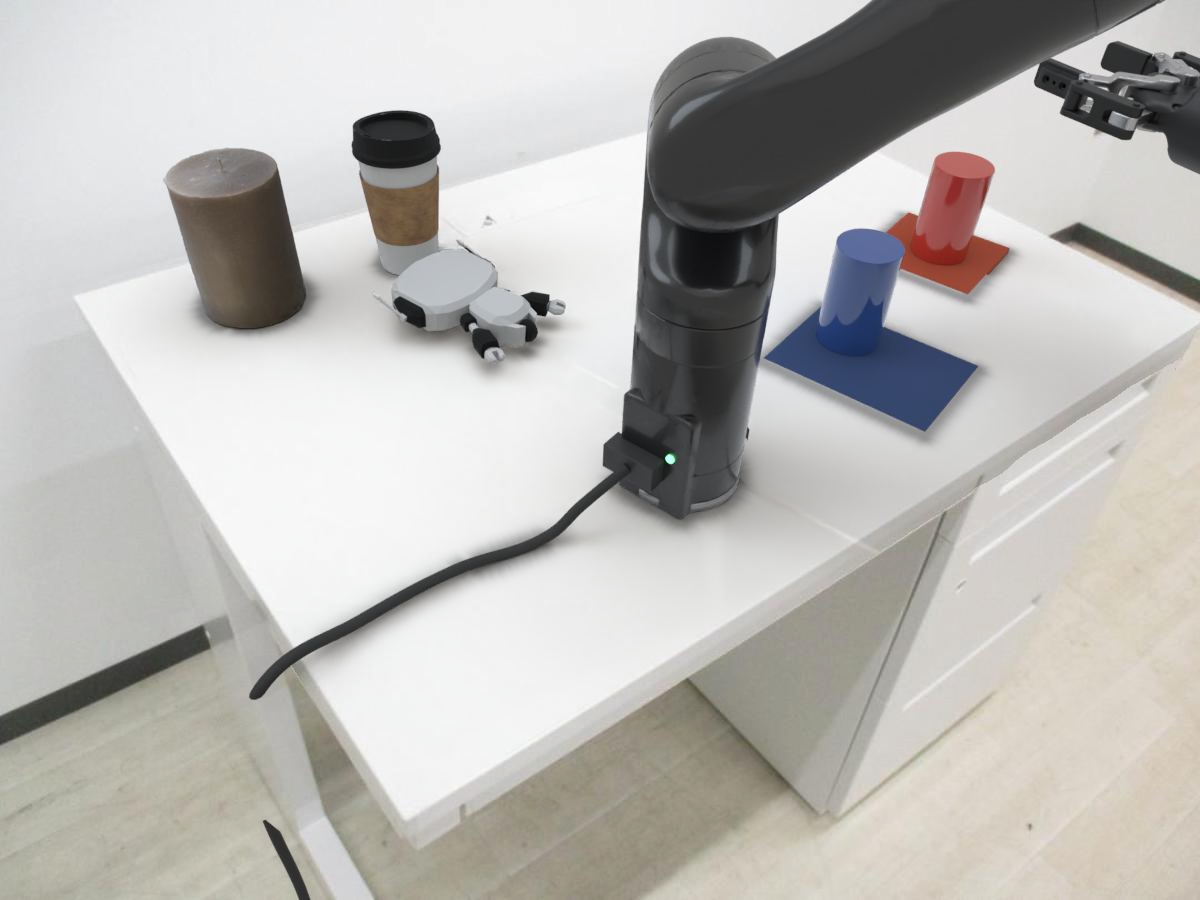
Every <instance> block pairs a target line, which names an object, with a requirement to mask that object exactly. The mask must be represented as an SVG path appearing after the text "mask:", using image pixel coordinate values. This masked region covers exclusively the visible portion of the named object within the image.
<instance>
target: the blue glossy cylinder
mask: <svg viewBox="0 0 1200 900" xmlns="http://www.w3.org/2000/svg"><path fill="white" fill-rule="evenodd" d="M832 253H833V254H832V258H831V262H830V267H829V271H828V276H827V280H826V285H825V287H824V288H825V289H824V293H823V298H822V302H821V306H820V307H821V311H820V315H819V319H818V324H817V328H816V337H817V340H818V341H819V342H820V344H821V345H822V346H824V347H825V348H827V349H828V350H830V351H832V352H835V353H838V354H841V355H846V356H863V355H867V354H870V353H872V352H873V351H875V350H876V349H877V347H878V345H879V342H880V339H881V335H882V331H883V328H884V327H885V324H886V321H887V317H888V313H889V310H890V307H891V303H892V299H893V297H894V292H895V289H896V286H897V281H898V279H899V275H900V272H901V269H900V268H901V265H902V261H903V258H904V254H905V248H904V245H903V244H902V243H901V242H900V241H899V240H898V239H897V238H895V237H894V236H892V235H890V234H888V233H886V232H885V231H882V230H878V229H872V228H852V229H848V230H845V231H843V232H842V233H840V234H839V235H838V236H837V238H836V240H835V245H834V249H833V252H832Z"/></svg>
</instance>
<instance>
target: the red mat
mask: <svg viewBox="0 0 1200 900" xmlns="http://www.w3.org/2000/svg"><path fill="white" fill-rule="evenodd" d="M917 219H918V215H917V214H914V213H911V212H907V213H906V214H905V215H904V216H903V217H902V218H900V219H899V220H898V221H897V222H895V224H894V225H893V226H891V227H890V228H889V229H888V230H886V232H885V233H888V234H890V235H892V236H894V237H895V238H897V239H898V240H899V241H900V242H901V243H902V244H903V245H904V248H905V254H904V258H903V261H902V265H901V268H900V270H902V271H905V272H908V273H910V274H912V275H916V276H918V277H920V278H924V279H927V280H929V281H932V282H934V283H936V284H939V285H942V286H944V287H947V288H950V289H952V290H956V291H957V292H960V293H963V294H965V295H969V294H970V293H971V292H972V291H973V289H974V288H976V286H977V285H978V284H979V283H980V281H981V280H982V279H983V278H984V277H985V276H986V275H987V276H988V275H989V274H990V273H991V272H992V271H993V270H994V269H995V268H996V267H997V266H998V265H999V264H1000V262H1001V261H1002V260H1003V259H1004V258H1005V257H1006V256H1007V255H1008V253H1010V250H1011V248H1010V247H1008V246H1005V245H1002V244H1000V243H996V242H994V241H991V240H989V239H985V238H983V237H979V236H977V235H975V234H974V235H973V238H972V241H971V244H970V247H969V250H968V253H967V256H966V258H965V260H964V261H962V262H961V263H958V264H955V265H937V264H933V263H929V262H926V261H924V260H922V259H920V258H918V257H917V256H915V255H914V254H913V253H912V251H911V249H910V243H911V240H912V236H913V233H914V229H915V226H916V222H917Z"/></svg>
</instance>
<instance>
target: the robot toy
mask: <svg viewBox="0 0 1200 900" xmlns="http://www.w3.org/2000/svg"><path fill="white" fill-rule="evenodd" d="M455 240H456V243H457V245H459V246H460V248H452V249H450V248H449V249H448V248H447V249H444V250H441V251H438V252H437V253H434V254H431V255H429V256H427V257H425V258H423V259H421V260H418V261H416V262H415V263H413V264H412V265H410V266H409V267H408V268H407V269H406V270H405V271H403V272H402V273H401V274H400V275H397V277H396V278H395V280H394V281H393V282H392V285H391V291H390V292H391V302H392V303H391V304H392V305H391V304H390V303H388V302H387V301H386V300H384V299H383V297H381V295H380V294H378V293H377V292H371V294H372V297H373V298H374V299H375V300H376V301H379V302H380V303H381V304H383V305H384V306H385V307H386V308H387V309H388V310H390V311H391V312H392V313H393V314H394V315H395V316H397V317H398V319H399V320H400V322H402V323H408V324H410V325H412V326H414V327H416V328H417V329H422V330H424V331H427V332H442V331H443V332H445V331H448V330H450V329H454V328H456V327H458V326H461V328H462V329H463V330H464V332H466V333H471V343H472V345H473V346H472V347H473V349H474V350H475V351H476V352H477V354H478V355H479V356H480V358H481V359H483V360H485V361H486V362H487V363H489V364H490V365H494V364H497V363H498V362H499V363H501V362H503V361H504V360H505V358H506V355H505V352H504V350H503V349H502V348H501V347H505V346H506V347H510V348H514V349H518V348H522V347H525V346H526V343H530V342H534V340H536V339H537V337H538V334H539V330H538V329H539V328H538V327H537V322H538V321H537V320H538V316H539V317H544V318H545V317H546V318H547V315H548V313H550V314H552V315H553V316H561V315H563V314H565V310H566V308H567V307H566V306H567V304H566V302H565V301H564V300H561V299H559V298H558V299H552V300H550V297H551V296H550V294H549V293H543V292H538V291H529V292H526V293H523V294H521V295H519V294H517V293H515V292H512V291H511V290H509V289H505V288H500V287H498V285H499V283H498V282H499V281H498V280H499V272H498V270H497V269H496V266H495V264H493V262H492V261H490V260H488V259H487V258H486V257H482V256H481V255H479V254H478V253H477V252H476V251H475V250H473V249H471V248H470V247H469V246H468V245H467V244H465V243H464V241H463V240H461V239H455ZM461 247H462V248H461ZM497 361H498V362H497Z"/></svg>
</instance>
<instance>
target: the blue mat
mask: <svg viewBox="0 0 1200 900" xmlns="http://www.w3.org/2000/svg"><path fill="white" fill-rule="evenodd" d="M820 311H821V306H819V308H817V309H816V310H815V311H814V312H813V313H812V314H811V315H809V316H808V317H807V318H806V319H805V320H804V321H803V322H801V324H800V325H799V326H797V327H796V328H795V329H794V330H793V331H792V332H791V333H789V335H787V336H786V337H785V338H784V339H783V340H782V341H781V342H779V343H778V344H777V345H776V346H775V347H774V348H773V349H772V350H771V351H770V352H768V353H767V354H766V355H765V356H764V357H763V359H764V360H767V361H769V362H771V363H774V364H775V365H777V366H780V367H782V368H784V369H787V370H789V371H791V372H793V373H795V374H797V375H799V376H802V377H803V378H806V379H809V380H811V381H813V382H815V383H817V384H820V385H821V386H824V387H826V388H828V389H830V390H832V391H835V392H837V393H839V394H841V395H843V396H846V397H848V398H850V399H852V400H854V401H856V402H859V403H861V404H864V406H865V405H866V406H868V407H869V408H872V409H873V410H876V411H878V412H880V413H882V414H885V415H887V416H889V417H892V418H894V419H895V420H898V421H901V422H902V423H905V424H907V425H909V426H911V427H913V428H915V429H918V430H920V431H922V432H924V433H925V432H926V431H927V430H928V429H929V428H930V426H932V424H933V423H934V421H935V420H936V419H937V418H938V417H939V416H940V414H941V413H942V412H943V410H944V409H945V408H946V407H947V406H948V404H949V403H950V402H951V400H952V399H953V398H954V397H955V396H956V394H957V393H958V392H959V391H960V390H961V388H962V387H963V386H964V384H965V383H966V382H967V381H968V380H969V379H970V377H971V376H972V375H973V373H975V372H976V370H977V368H979V365H977V364H975V363H972V362H970V361H968V360H965V359H962V358H960V357H957V356H955V355H953V354H950V353H949V352H946V351H943V350H941V349H938V348H937V347H934V346H931V345H929V344H927V343H924V342H922V341H919V340H917V339H914V338H912V337H910V336H907V335H905V334H902V333H899V332H898V331H895V330H893V329H890V328H888V327H885V326H884V328H883V331H882V335H881V339H880V342H879V345H878V347H877V349H876V350H875V351H873V352H872V353H870V354H867V355H863V356H846V355H841V354H838V353H835V352H832V351H830V350H828V349H827V348H825V347H824V346H822V345H821V344H820V342H819V341H818V340H817V337H816V328H817V324H818V319H819V315H820Z"/></svg>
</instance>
